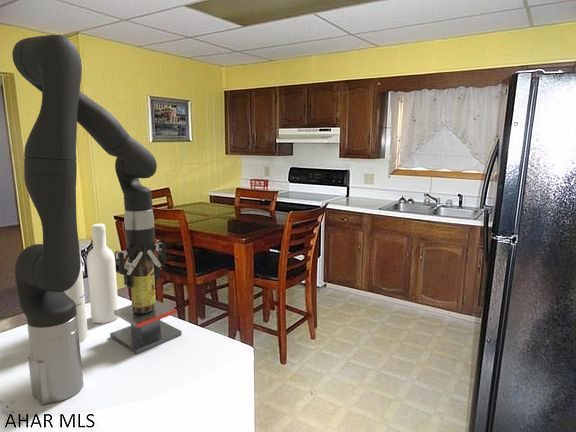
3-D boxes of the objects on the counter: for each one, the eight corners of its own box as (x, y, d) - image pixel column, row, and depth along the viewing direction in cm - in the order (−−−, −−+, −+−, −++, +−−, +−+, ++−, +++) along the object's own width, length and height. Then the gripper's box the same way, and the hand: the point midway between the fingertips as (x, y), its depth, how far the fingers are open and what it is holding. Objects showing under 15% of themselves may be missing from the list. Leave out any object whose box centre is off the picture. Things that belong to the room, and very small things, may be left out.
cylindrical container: (93, 333, 115) (86, 249, 110) (78, 345, 108) (69, 257, 103) (69, 331, 115) (61, 248, 111) (53, 344, 108) (43, 256, 104)
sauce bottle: (158, 311, 111) (155, 242, 107) (134, 316, 108) (130, 245, 104) (152, 303, 116) (149, 237, 112) (130, 307, 113) (126, 239, 109)
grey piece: (136, 354, 104) (134, 325, 102) (110, 337, 113) (108, 310, 111) (181, 334, 114) (180, 308, 113) (154, 320, 123) (153, 296, 122)
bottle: (96, 326, 119) (87, 228, 113) (88, 317, 125) (79, 224, 119) (123, 318, 124) (116, 225, 119) (114, 310, 130) (107, 220, 124)
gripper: (155, 220, 115) (158, 273, 118) (106, 227, 104) (111, 287, 107) (170, 223, 111) (173, 279, 114) (121, 232, 100) (125, 293, 103)
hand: (143, 283), depth 110 cm, fingers open, 7 cm apart
